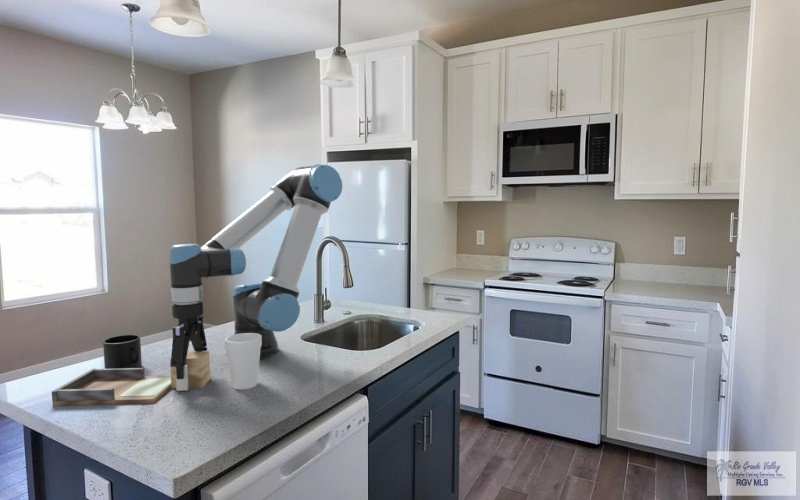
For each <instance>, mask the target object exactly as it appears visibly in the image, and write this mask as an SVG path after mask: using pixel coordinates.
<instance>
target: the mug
mask: <svg viewBox="0 0 800 500" xmlns="http://www.w3.org/2000/svg"><path fill="white" fill-rule="evenodd" d="M102 345H103V347H102V349H103V359H104V360H103V361H104V363H103V364H104V369H115V368H142V366H143V364H142V363H143V362H142V345H141V336H140V335H137V334H126V335H125V334H123V335H117V336H112V337H109V338H106V339H104V340H103V341H102Z"/></svg>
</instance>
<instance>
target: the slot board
mask: <svg viewBox="0 0 800 500" xmlns="http://www.w3.org/2000/svg"><path fill="white" fill-rule="evenodd" d="M171 389H172V388H171V375H149V376H148V375H145V367H140V368H115V369H105V368H91V369H90V370H88V371H86V372H84V373H82V374H81V375H79V376H77V377H76V378H74V379H71V380H70V381H68V382H67V383H64V384H63V385H61V386H59V387H58V388H56V389H54V390H52V391H51V401H52V403H51V404H52V406H53V407H54V406H56V407H57V406H87V405H89V406H90V405H95V406H96V405H127V404H128V405H129V404H130V405H132V404H154V403H156V402H157V401H158V400H159V399H160V398H162V397H163V396H164V395H165V394H166V393H167V392H168V391H170V390H171Z"/></svg>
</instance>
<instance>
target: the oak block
mask: <svg viewBox="0 0 800 500" xmlns="http://www.w3.org/2000/svg"><path fill="white" fill-rule="evenodd" d="M210 361H211V360H210V351H208V350H207V351H202V352H196V351H188V353H187V358H186V364H185V365H187V370H188V389H193V388H194V389H195V388H196V389H197V388H203V387H204V386H205V385H206V384H207V383H208V382H209V381H210V380H211V365H210ZM169 365H170V370H169V371H170V376H171V389H176V369H175V367H171V358H169Z"/></svg>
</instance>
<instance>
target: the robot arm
mask: <svg viewBox="0 0 800 500" xmlns="http://www.w3.org/2000/svg"><path fill="white" fill-rule="evenodd" d="M342 191H343V180H342V178H341V175H340V173H339V172H338V170H336V168H334V167H333V166H330V165H328V164H321V163H319V164H315V165H309V166H301V167H297V168H295V169H293V170H291V171H290V172H288V173H287V174H286V175H284V176H282V178H281V179H279V180H278V181H277V182H276V183H274V184H273V185H272V186H271V187H270V188H269V192H268V193H267V194H265V195H264V196H263V197H262V198H261V199H259V200H258V201H257V202H255V203H254V204H253V205H252V206H251V207H250V208H248V209H247V210H246V211H245V212H243V213H242V214H241V215H239V216H238V217H237V218H236V219H234V220H232V222H231V223H229V224H228V225H227V226H226V227H224V228H223V229H222V230H221V231H219V232H218V233H217V234H216V235H214V236H213V237H212V238H211V239H209V240H208V241H206V243H204V244H203V245H200V244H199V243H183V244H182V243H180V244H179V243H178V244H173V245H171V246H170V248H169V262H168V264H169V273H170V287H171V288H170V291H169V293H170V294H171V302H172V305H171V310H172V311H171V313H172V317H173V318H174V319H177V320H178V326H173V327H172V344H171V357H170V359H171V367H175V369H176V388H175V389H176V391H178V392H180V391H189V388H188V370H187V365H185V364H186V358H187V353H188V352H189V346H190V342H191V345H192V348H193V352H202V351H208V347H207V346H208V344H207V338H206V334H205V333H206V332H205V327H204V320H203V319H204V318H203V314H204V303H203V301H202V300H203V298H204V297H203V295H204V294H203V282H202V281H203V279H208V278H218V277H227V276H229V277H230V276H231V277H233V276H236V275H242V274H243V273H244V272H245V270H246V268H247V267H246V266H247V259H246V254H245V253H244V251H243V250H242V249H240V248H242V247H243V246H244V245H245V244H246V243H247V242H248V241H250V240H251V239H253V237H255V236H256V235H257V234H258V233H259V232H261V231H263V229H264V228H265V227H266V226H268V225H269V224H271V222H273V221H274V220H275V219H276V218H277V217H279V216H280V215H281V214H282V213H283V212H285V211H291V210H292V209H293V208H294V209H293V212H292V214H291V217H290V220H289V223H288V226H287V229H286V231H285V233H284V237H283V238H282V242H281V244H280V248H279V250H278V253H277V256H276V257H275V258H276V259H275V260H274V261H275V262H274V264H273V267H272V269H271V273H270V275H269V277H267V278H264V279H263V280H262V282H257V283H256V282H255V283H247V284H239V285H236V286H235V287H234V288H233V294H232V298H233V315H234V333H233V335H235V334H241V333H256V334H260V335H262V346H261V350H260V359H264V358H269V357H272V356H274V355H276V354H277V353H278V352H279V343H278V341H277V337H276V336H275V335H276V334H275V332H276V333H278V332H284V331H286V330H288V329H290V328H291V327H293V326H294V324H296V322H297V321H298V319H299V316H300V312H301V307H300V305H299V303H300V302H299V301H298V298H299V295H300V291H299V288H298V283H299V280H300V277H301V275H302V271H303V269H304V266H305V263H306V260H307V258H308V255H309V251H310V249H311V246H312V243H313V241H314V238H315V234H316V232H317V228H318V226H319V223H320V220H321V218H322V215H324V214H326V213H328V212H329V208H330V205H331V203H332V202H334V201H336V200H338V198H339V197H340V196H341V194H342Z"/></svg>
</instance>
